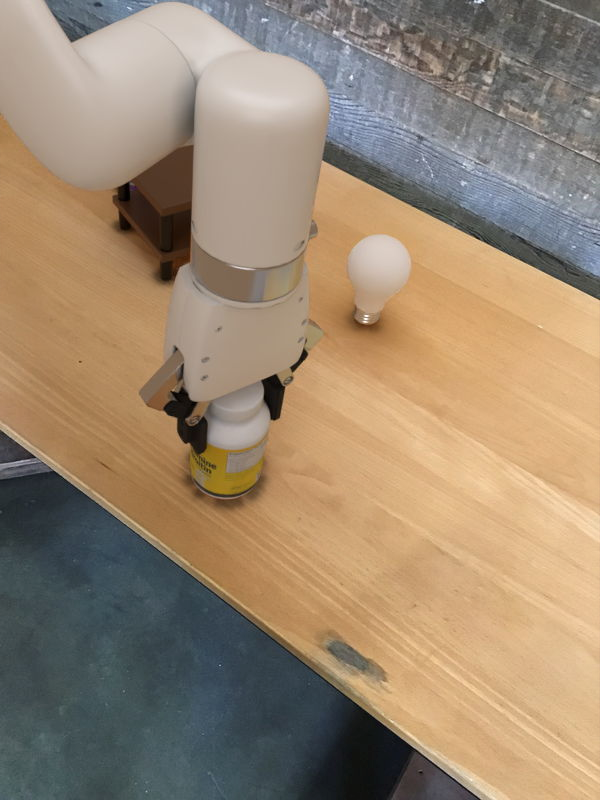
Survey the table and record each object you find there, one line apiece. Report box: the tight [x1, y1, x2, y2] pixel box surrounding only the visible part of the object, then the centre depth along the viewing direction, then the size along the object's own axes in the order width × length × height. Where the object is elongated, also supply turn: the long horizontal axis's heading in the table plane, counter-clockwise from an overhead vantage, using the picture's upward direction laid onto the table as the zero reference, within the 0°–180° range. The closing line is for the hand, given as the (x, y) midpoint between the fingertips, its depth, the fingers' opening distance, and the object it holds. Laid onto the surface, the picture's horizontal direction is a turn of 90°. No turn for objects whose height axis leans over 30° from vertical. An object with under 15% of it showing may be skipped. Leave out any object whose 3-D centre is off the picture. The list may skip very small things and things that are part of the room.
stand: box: [111, 145, 194, 282], centre depth 86 cm, size 14×12×10 cm
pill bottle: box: [189, 380, 271, 500], centre depth 64 cm, size 6×6×12 cm
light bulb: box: [346, 233, 412, 326], centre depth 80 cm, size 7×7×11 cm
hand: (230, 423), depth 63 cm, fingers closed on pill bottle, 6 cm apart
